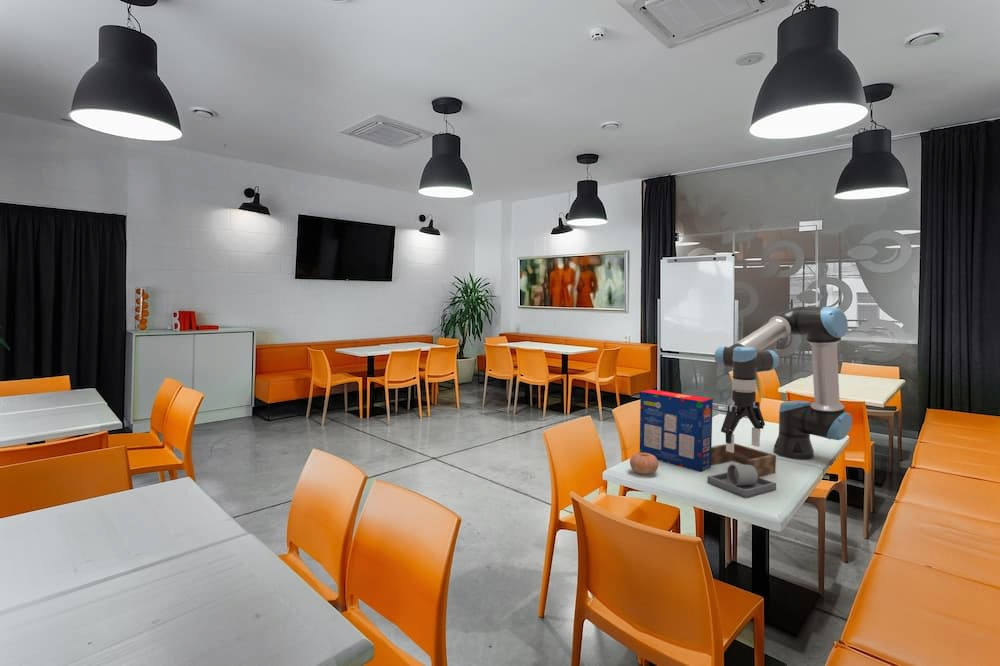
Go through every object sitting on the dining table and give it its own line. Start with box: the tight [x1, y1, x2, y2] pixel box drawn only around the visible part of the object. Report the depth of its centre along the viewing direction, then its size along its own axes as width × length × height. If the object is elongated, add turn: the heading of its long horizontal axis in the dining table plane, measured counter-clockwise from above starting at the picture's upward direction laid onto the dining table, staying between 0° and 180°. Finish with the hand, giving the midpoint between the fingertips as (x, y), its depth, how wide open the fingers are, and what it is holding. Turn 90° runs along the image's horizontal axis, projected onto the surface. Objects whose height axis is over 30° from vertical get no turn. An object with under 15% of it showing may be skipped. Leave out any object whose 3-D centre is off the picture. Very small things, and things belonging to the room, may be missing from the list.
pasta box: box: [639, 389, 714, 473], centre depth 211 cm, size 28×8×28 cm, turn 40°
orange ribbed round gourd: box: [629, 452, 659, 476], centre depth 198 cm, size 11×11×8 cm
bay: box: [711, 442, 777, 478], centre depth 202 cm, size 15×20×7 cm
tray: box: [706, 471, 777, 499], centre depth 183 cm, size 16×16×2 cm
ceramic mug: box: [726, 463, 758, 486], centre depth 184 cm, size 11×8×8 cm
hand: (743, 448), depth 183 cm, fingers open, 13 cm apart
